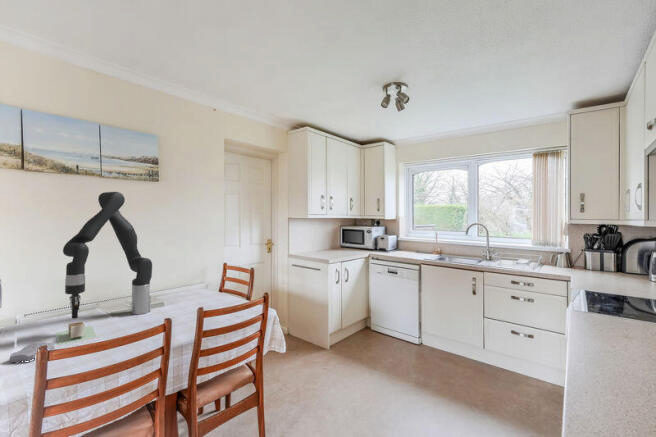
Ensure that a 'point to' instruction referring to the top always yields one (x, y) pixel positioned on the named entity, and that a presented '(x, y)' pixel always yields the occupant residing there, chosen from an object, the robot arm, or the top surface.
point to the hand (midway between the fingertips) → (74, 317)
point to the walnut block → (76, 329)
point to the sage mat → (65, 338)
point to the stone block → (28, 352)
